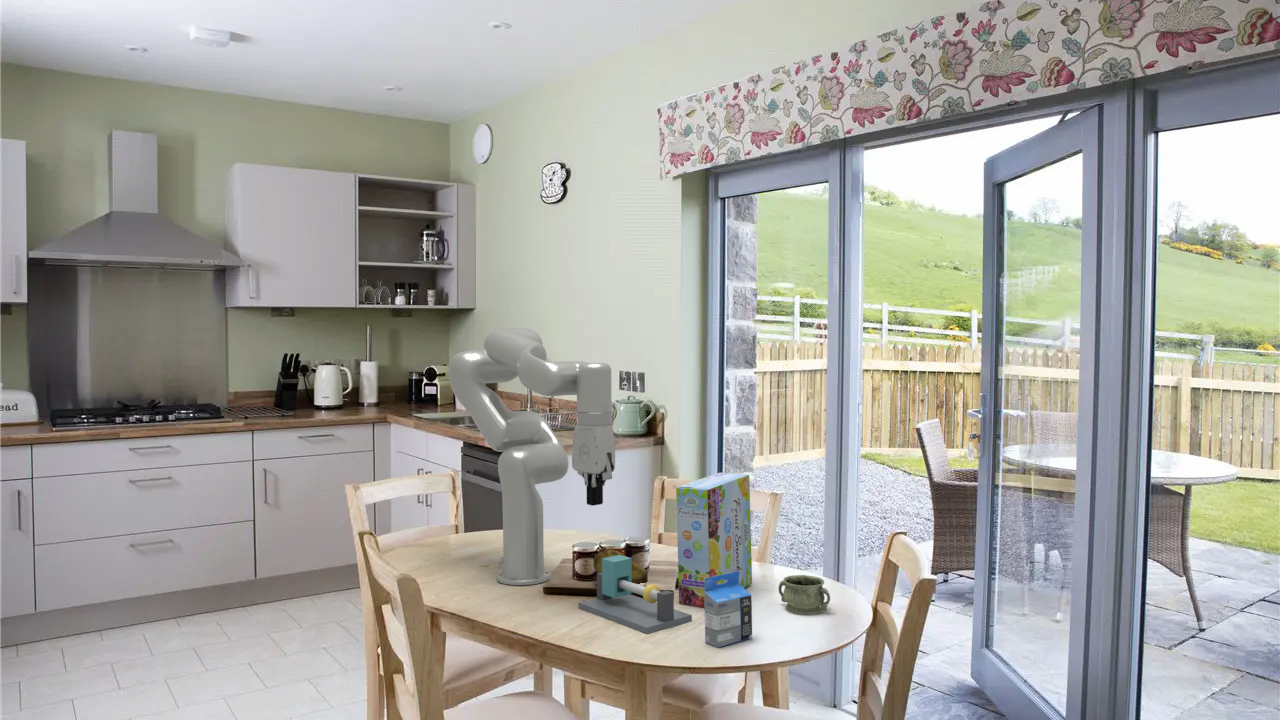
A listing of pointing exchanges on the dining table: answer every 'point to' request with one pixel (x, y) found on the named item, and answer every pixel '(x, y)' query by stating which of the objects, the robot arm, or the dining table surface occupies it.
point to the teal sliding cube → (615, 575)
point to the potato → (637, 571)
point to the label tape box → (726, 610)
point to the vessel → (804, 594)
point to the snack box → (713, 533)
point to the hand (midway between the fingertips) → (594, 504)
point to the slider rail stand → (637, 607)
